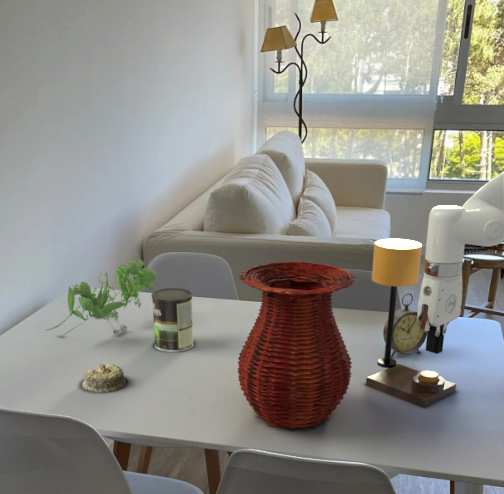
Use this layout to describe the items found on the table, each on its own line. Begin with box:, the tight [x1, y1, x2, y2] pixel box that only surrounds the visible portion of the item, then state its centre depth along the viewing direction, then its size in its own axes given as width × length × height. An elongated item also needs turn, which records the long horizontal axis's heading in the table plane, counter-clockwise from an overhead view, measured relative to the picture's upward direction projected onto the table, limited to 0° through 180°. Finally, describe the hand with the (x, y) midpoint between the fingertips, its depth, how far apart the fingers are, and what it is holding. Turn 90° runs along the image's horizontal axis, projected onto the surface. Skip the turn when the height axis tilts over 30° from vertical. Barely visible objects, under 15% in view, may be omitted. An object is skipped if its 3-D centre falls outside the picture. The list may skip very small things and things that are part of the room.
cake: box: [81, 363, 127, 393], centre depth 161 cm, size 10×10×5 cm
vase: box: [237, 261, 356, 430], centre depth 142 cm, size 23×24×30 cm
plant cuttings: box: [45, 259, 158, 337], centre depth 191 cm, size 35×17×22 cm
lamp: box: [371, 238, 423, 369], centre depth 157 cm, size 10×10×28 cm
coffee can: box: [151, 287, 194, 353], centre depth 182 cm, size 10×10×14 cm
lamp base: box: [365, 363, 457, 409], centre depth 160 cm, size 16×12×4 cm
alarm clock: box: [382, 292, 427, 359], centre depth 176 cm, size 11×5×16 cm, turn 114°
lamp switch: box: [419, 370, 440, 384], centre depth 156 cm, size 4×4×2 cm
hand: (433, 351), depth 153 cm, fingers closed
